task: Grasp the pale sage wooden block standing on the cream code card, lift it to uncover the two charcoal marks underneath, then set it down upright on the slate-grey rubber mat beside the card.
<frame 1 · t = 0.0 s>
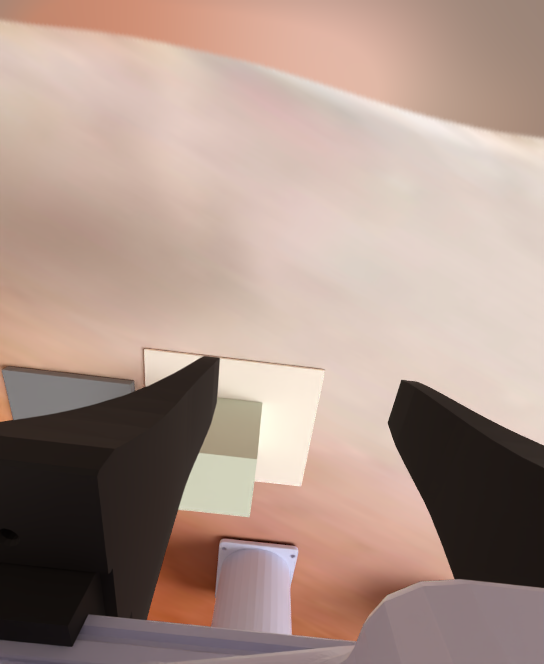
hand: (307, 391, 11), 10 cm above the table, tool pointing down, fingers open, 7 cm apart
sage block: (229, 424, 24), resting on code card
code card: (230, 422, 24), on the table
slate mat: (81, 443, 25), on the table
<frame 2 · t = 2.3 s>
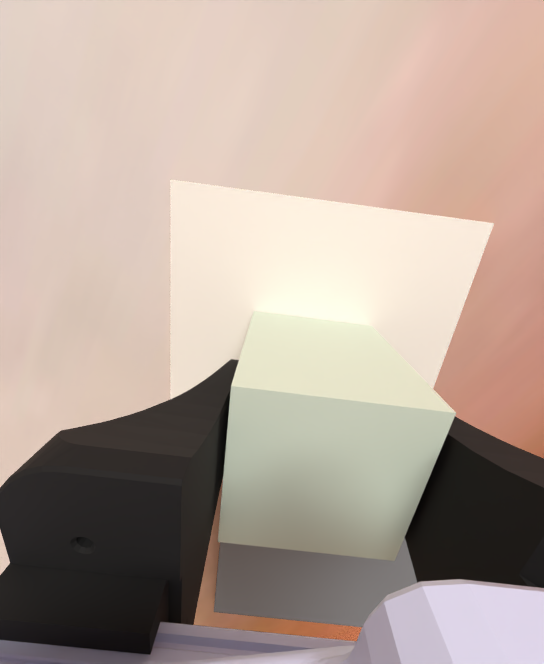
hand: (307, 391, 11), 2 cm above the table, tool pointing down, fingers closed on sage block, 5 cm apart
sage block: (303, 371, 13), resting on code card, touching gripper
code card: (303, 368, 13), on the table
slate mat: (333, 563, 17), on the table
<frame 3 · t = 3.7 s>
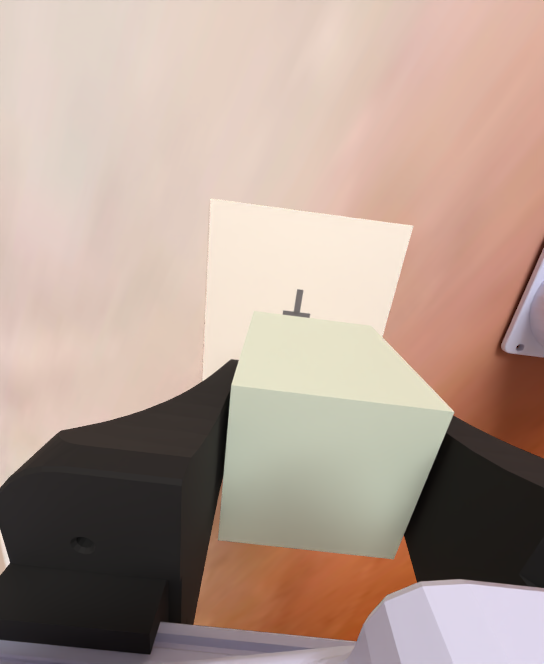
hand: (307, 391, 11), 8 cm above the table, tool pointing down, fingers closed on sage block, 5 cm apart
sage block: (303, 370, 13), point 7 cm above the table, touching gripper
code card: (294, 323, 19), on the table
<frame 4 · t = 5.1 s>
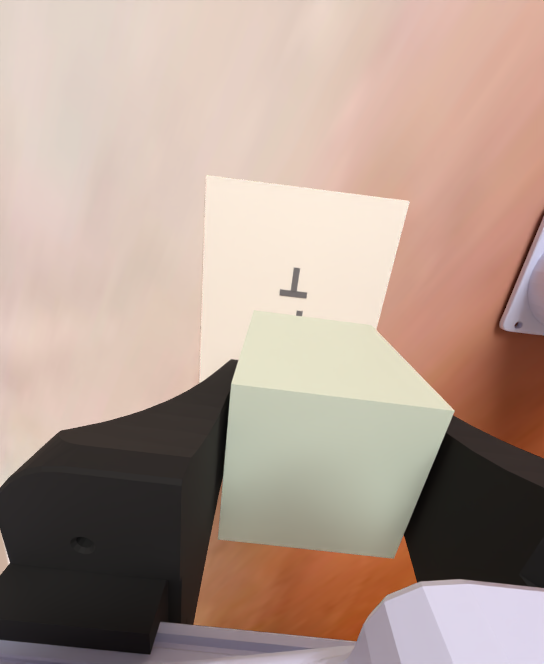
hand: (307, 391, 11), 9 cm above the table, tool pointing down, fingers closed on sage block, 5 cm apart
sage block: (303, 370, 13), point 7 cm above the table, touching gripper
code card: (291, 303, 19), on the table
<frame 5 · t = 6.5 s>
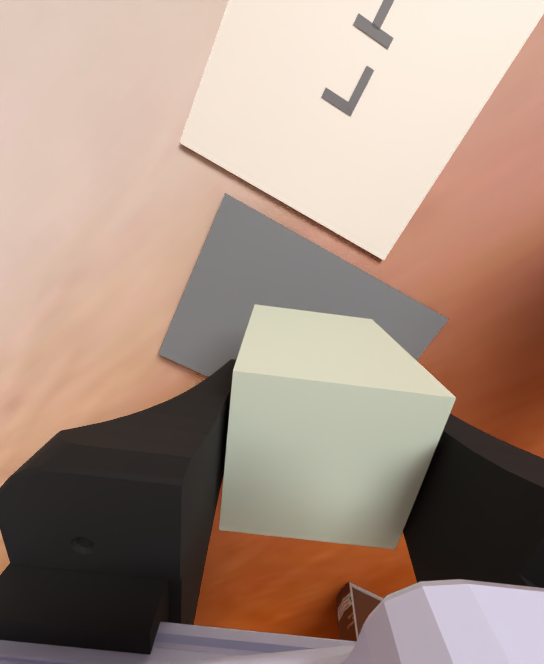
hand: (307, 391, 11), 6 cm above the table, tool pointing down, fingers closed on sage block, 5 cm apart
sage block: (303, 364, 13), point 5 cm above the table, touching gripper
code card: (362, 52, 13), on the table
food container: (366, 613, 27), on the table
slate mat: (297, 333, 17), on the table
when the fingers open (4 cm above the table, at t = 7.8 s): sage block drops 2 cm, resting on slate mat.
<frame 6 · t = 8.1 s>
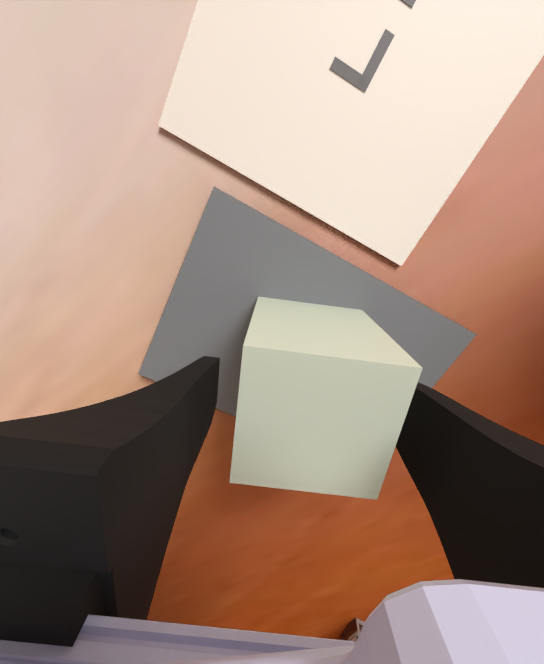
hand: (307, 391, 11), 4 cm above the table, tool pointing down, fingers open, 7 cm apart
sage block: (301, 351, 14), point 1 cm above the table, touching slate mat
code card: (380, 13, 10), on the table
food container: (374, 650, 25), on the table
slate mat: (299, 350, 15), on the table
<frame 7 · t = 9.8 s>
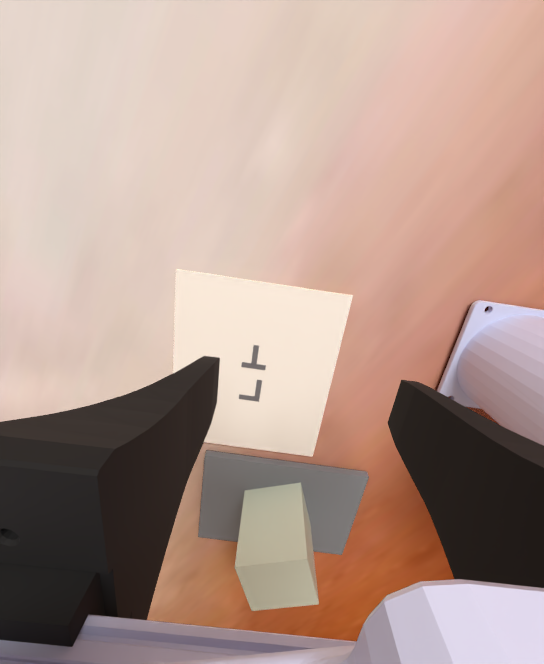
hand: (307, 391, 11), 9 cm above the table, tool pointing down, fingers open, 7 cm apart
sage block: (278, 507, 25), point 1 cm above the table, touching slate mat
code card: (252, 372, 21), on the table
slate mat: (278, 502, 26), on the table
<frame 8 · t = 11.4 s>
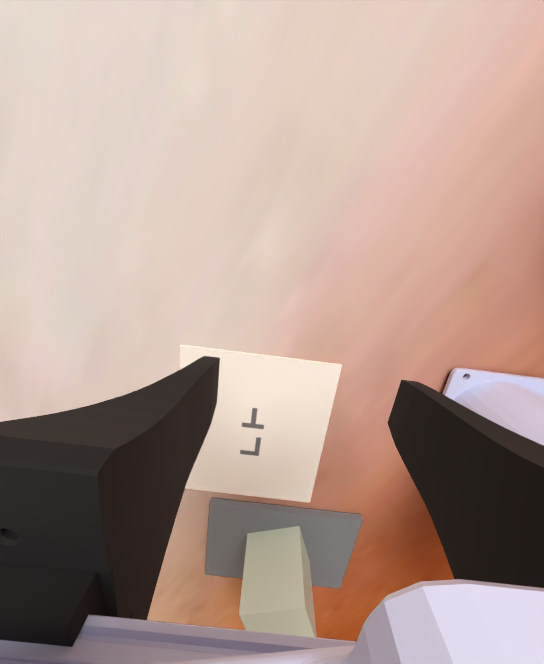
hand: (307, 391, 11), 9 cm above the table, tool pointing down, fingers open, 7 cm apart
sage block: (279, 547, 27), point 1 cm above the table, touching slate mat
code card: (252, 431, 23), on the table
slate mat: (279, 542, 28), on the table
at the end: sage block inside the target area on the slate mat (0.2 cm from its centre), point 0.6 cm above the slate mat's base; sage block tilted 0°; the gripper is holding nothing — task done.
